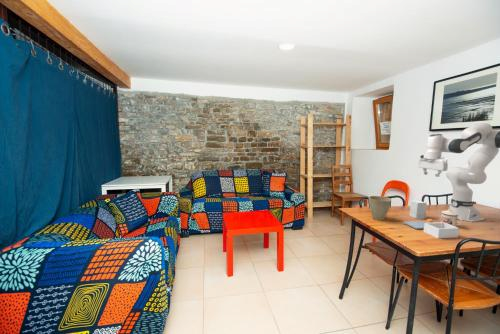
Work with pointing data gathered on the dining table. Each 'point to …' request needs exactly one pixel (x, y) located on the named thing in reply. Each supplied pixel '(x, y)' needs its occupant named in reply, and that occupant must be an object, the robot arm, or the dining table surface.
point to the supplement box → (418, 209)
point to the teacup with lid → (450, 217)
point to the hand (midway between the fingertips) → (431, 175)
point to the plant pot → (379, 206)
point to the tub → (441, 230)
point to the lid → (418, 223)
